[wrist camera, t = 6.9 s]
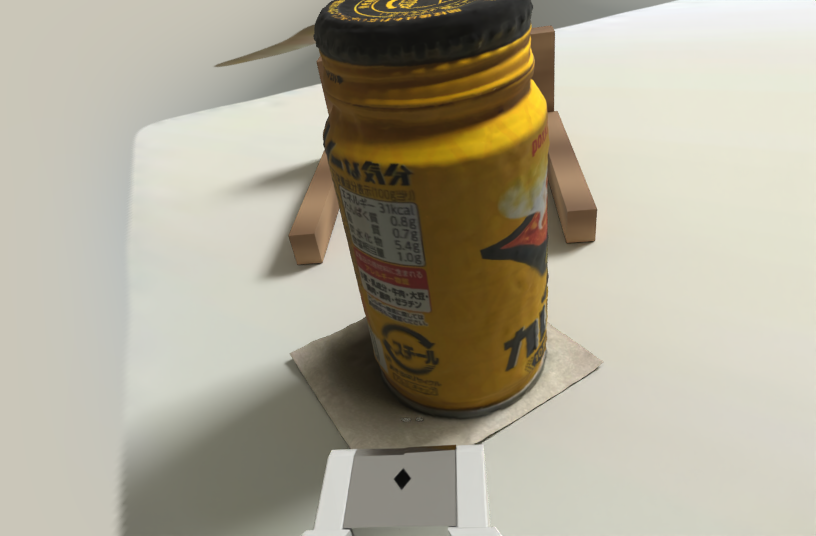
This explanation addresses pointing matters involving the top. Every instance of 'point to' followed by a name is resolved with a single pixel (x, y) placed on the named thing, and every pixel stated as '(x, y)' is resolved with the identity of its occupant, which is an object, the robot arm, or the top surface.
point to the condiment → (438, 223)
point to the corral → (561, 171)
